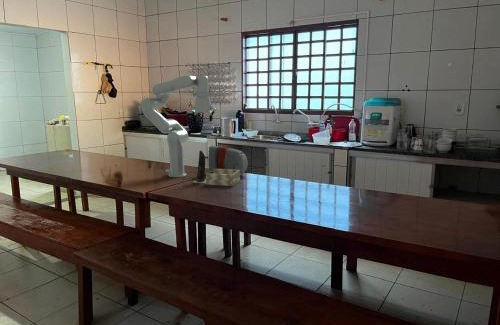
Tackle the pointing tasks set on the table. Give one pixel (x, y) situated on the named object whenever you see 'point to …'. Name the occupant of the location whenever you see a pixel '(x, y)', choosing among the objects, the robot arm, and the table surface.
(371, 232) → the table surface
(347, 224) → the table surface
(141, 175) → the table surface
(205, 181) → the mat
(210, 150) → the decorative stone tablet
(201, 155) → the statue
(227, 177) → the beige woven basket
